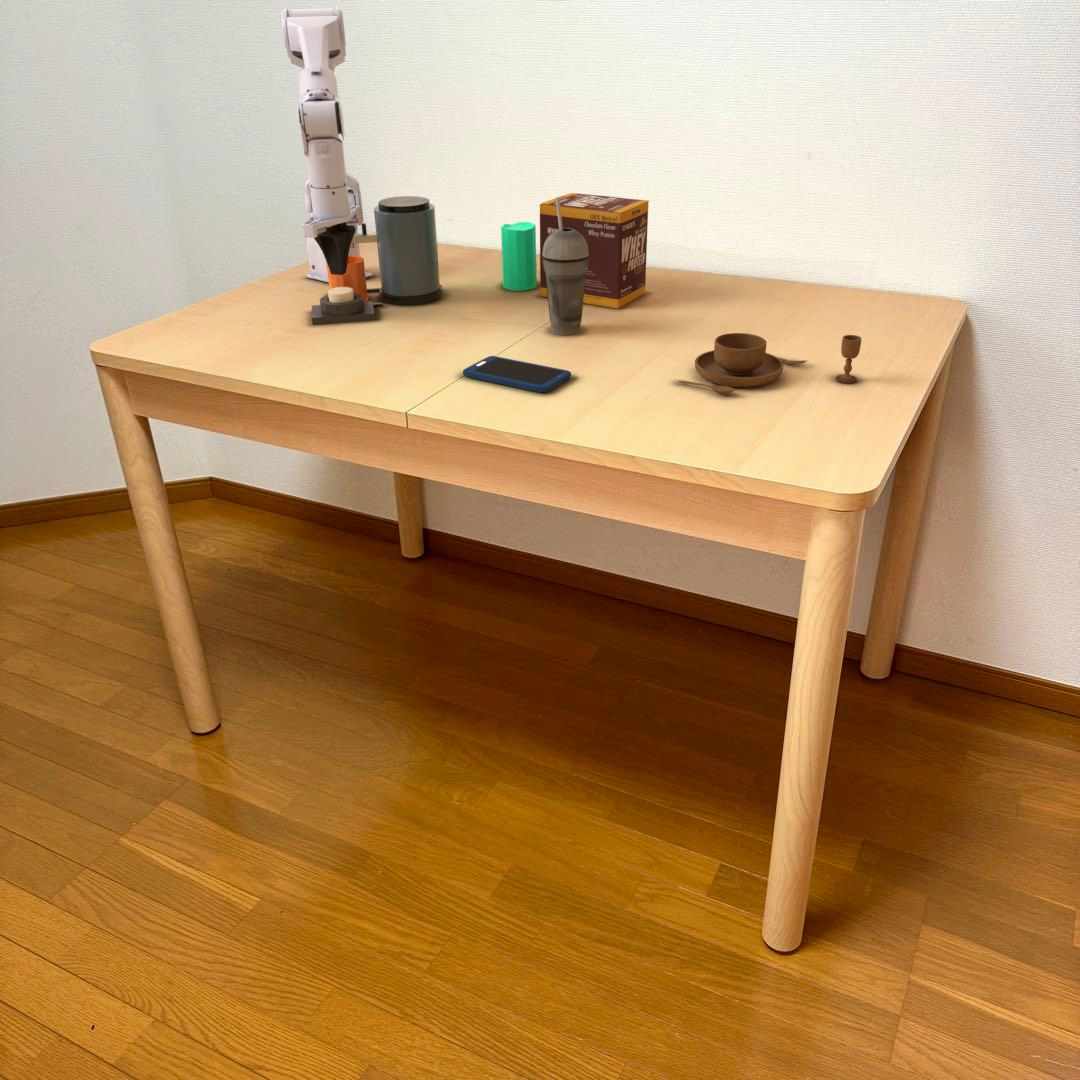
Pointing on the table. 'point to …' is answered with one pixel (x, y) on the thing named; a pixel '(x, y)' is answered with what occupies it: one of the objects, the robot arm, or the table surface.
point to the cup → (351, 277)
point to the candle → (519, 256)
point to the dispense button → (341, 294)
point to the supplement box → (603, 244)
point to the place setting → (755, 362)
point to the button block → (342, 311)
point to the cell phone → (517, 374)
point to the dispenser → (405, 251)
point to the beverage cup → (565, 277)
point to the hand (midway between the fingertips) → (338, 273)
